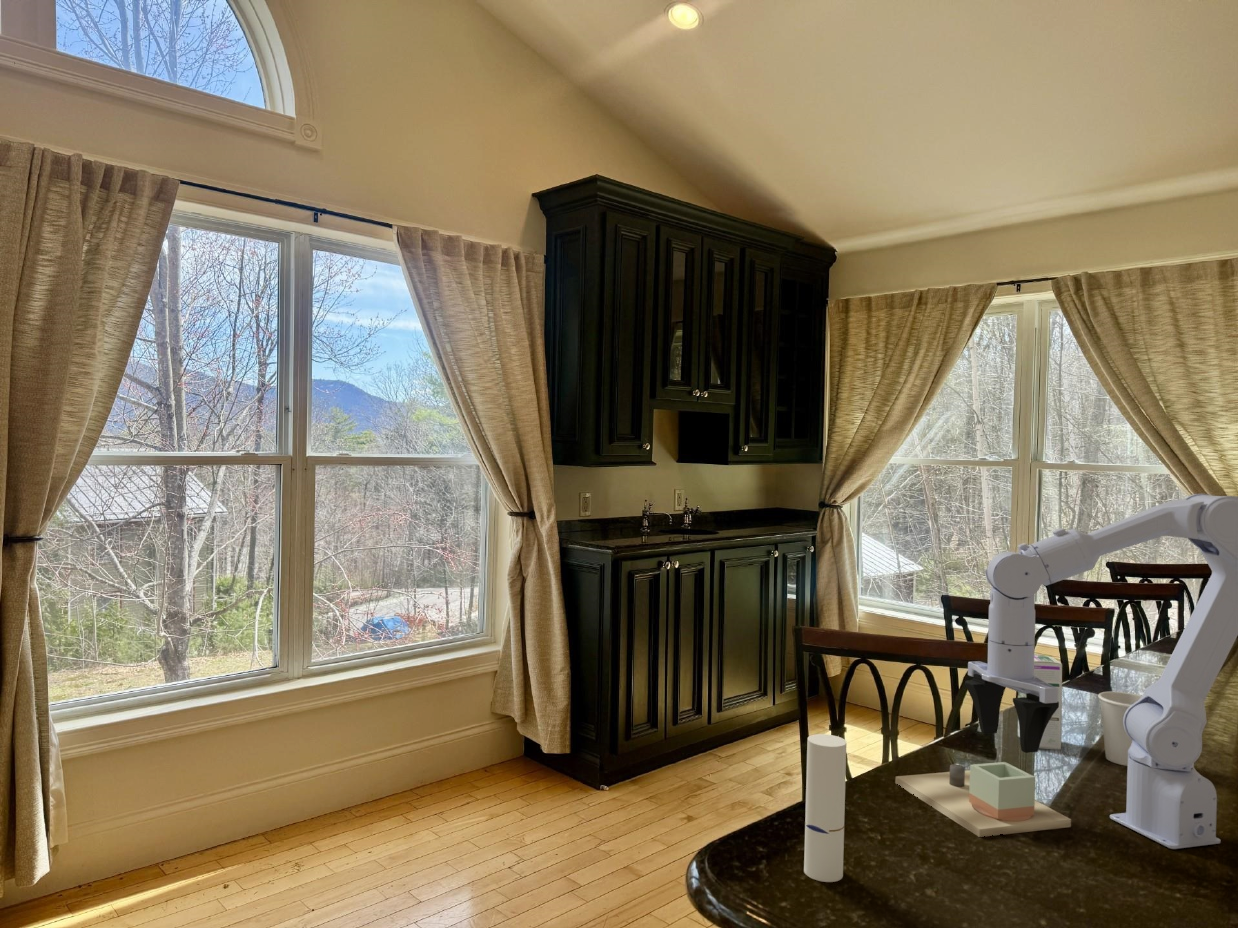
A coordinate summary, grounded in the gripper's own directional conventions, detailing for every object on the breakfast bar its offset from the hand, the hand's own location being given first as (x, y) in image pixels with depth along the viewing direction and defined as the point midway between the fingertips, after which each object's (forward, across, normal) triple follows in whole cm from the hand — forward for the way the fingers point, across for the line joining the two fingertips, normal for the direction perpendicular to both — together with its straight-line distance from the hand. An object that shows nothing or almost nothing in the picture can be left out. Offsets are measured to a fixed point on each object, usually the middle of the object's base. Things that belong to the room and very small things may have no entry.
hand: (1008, 741), depth 115 cm
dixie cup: (+10, -12, +34) cm, 37 cm away
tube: (+10, +10, -33) cm, 36 cm away
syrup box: (+10, -22, +26) cm, 36 cm away
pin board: (+9, -3, -2) cm, 10 cm away
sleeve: (+8, +2, -2) cm, 9 cm away
